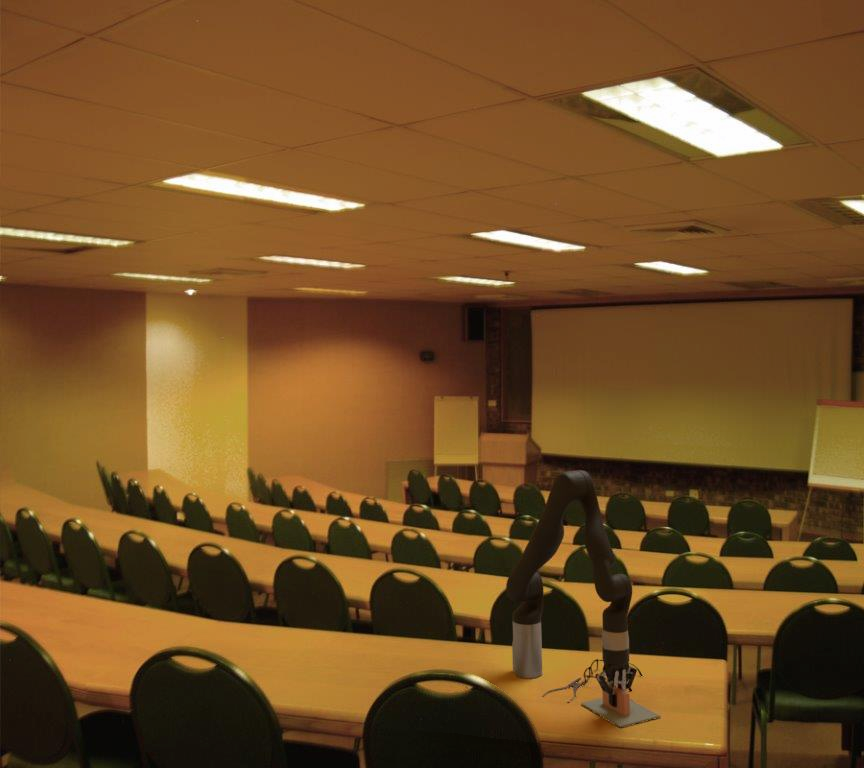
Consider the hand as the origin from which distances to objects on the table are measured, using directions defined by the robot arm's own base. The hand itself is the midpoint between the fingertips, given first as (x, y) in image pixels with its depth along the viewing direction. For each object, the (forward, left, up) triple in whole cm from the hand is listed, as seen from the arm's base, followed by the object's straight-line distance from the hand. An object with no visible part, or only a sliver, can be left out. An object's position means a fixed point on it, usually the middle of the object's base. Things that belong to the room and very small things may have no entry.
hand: (617, 705), depth 231 cm
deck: (-1, 0, -1) cm, 1 cm away
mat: (0, +1, -2) cm, 2 cm away
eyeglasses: (-20, +14, -3) cm, 25 cm away
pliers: (-21, -3, -3) cm, 22 cm away
